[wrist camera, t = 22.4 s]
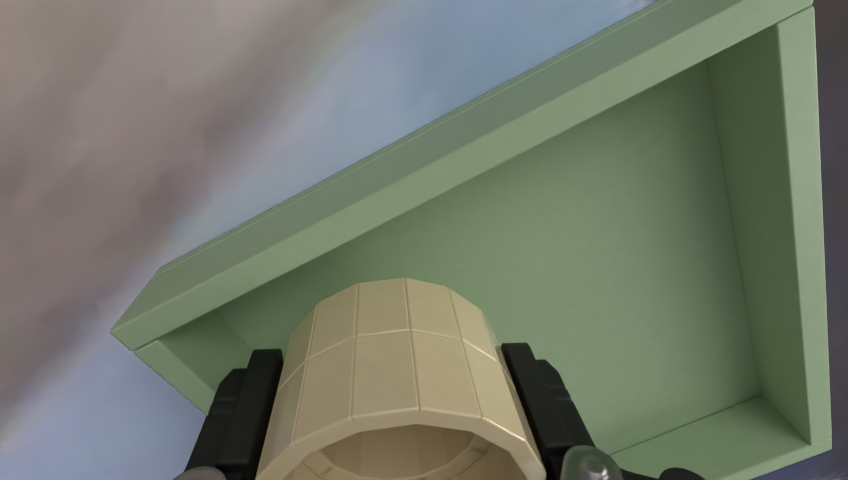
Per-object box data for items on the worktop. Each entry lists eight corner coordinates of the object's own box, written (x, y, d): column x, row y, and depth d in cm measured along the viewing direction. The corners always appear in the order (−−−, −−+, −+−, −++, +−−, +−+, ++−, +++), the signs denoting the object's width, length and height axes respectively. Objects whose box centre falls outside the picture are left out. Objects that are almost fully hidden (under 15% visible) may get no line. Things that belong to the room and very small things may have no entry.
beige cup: (245, 325, 13) (179, 493, 8) (439, 229, 12) (477, 360, 8) (358, 444, 16) (352, 615, 11) (520, 374, 15) (581, 528, 11)
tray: (159, 267, 14) (107, 332, 11) (708, -28, 11) (813, -36, 9) (417, 527, 22) (423, 601, 19) (769, 387, 20) (832, 449, 17)
